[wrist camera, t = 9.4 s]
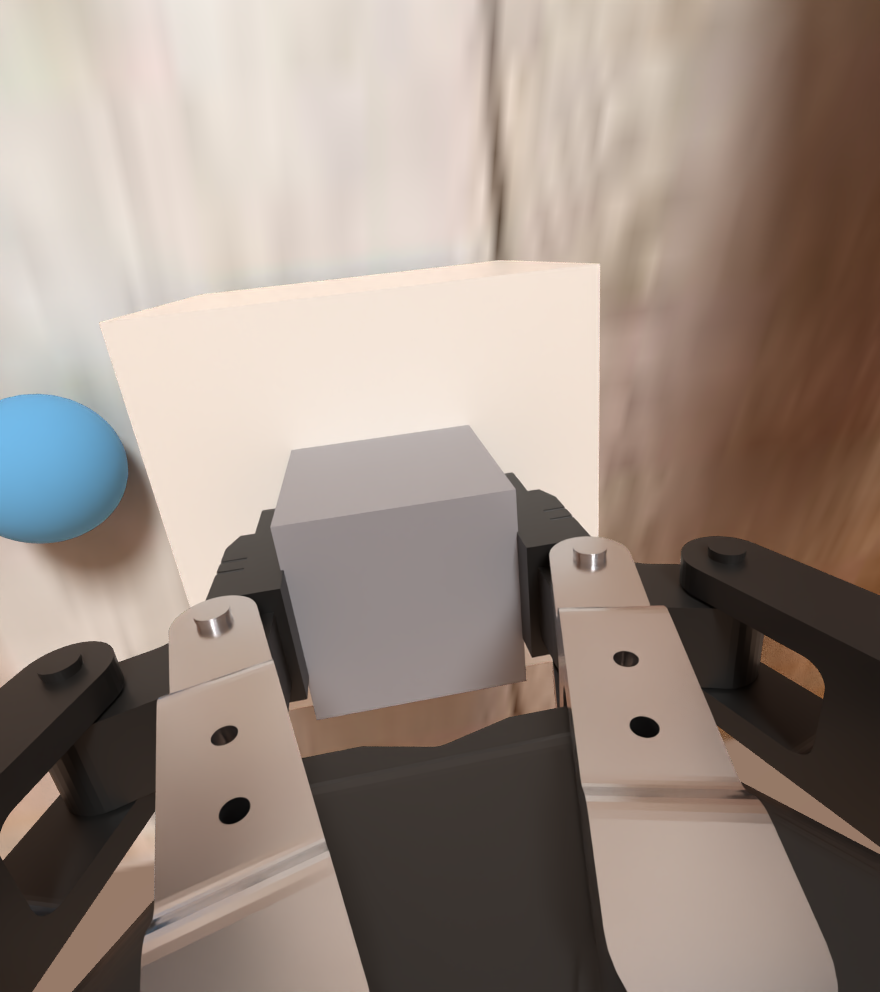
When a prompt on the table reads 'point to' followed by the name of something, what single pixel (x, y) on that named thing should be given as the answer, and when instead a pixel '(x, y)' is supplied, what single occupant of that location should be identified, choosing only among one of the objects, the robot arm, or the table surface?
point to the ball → (56, 469)
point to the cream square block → (374, 456)
